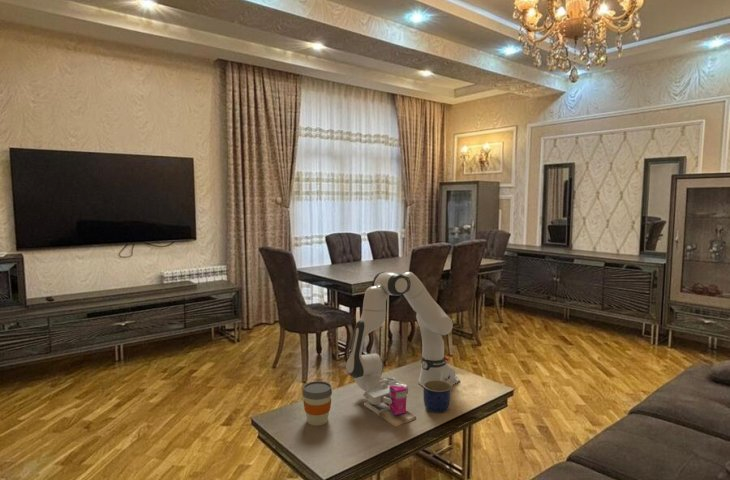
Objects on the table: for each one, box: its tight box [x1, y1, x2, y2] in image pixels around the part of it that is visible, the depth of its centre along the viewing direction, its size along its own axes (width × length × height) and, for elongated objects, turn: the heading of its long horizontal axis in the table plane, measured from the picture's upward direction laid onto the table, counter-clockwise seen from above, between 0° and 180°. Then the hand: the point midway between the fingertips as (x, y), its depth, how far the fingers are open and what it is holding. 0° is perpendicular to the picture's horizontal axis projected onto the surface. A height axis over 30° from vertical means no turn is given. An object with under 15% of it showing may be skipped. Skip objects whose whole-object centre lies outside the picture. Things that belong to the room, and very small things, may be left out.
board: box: [378, 410, 417, 427], centre depth 195 cm, size 12×11×1 cm
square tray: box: [363, 400, 389, 416], centre depth 205 cm, size 11×11×2 cm
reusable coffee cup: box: [302, 380, 333, 427], centre depth 191 cm, size 13×13×15 cm
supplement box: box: [388, 384, 407, 416], centre depth 194 cm, size 6×6×12 cm
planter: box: [422, 380, 452, 414], centre depth 203 cm, size 12×12×11 cm
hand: (399, 399), depth 193 cm, fingers closed on supplement box, 6 cm apart
